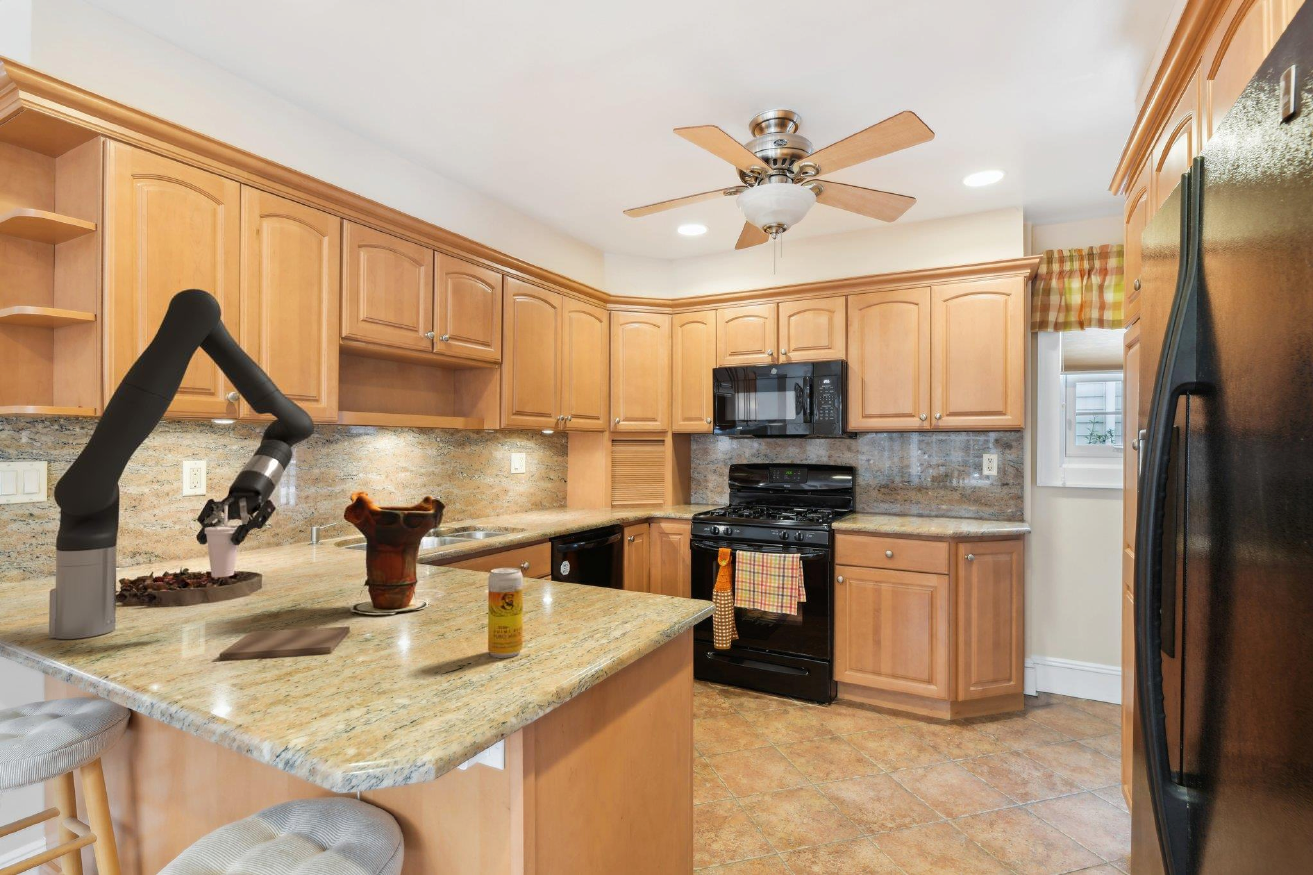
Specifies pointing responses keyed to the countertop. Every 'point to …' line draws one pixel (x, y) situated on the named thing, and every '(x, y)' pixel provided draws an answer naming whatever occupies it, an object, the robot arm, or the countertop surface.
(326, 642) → the walnut board
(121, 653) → the countertop surface
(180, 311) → the robot arm
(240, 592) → the food dish
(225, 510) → the smoothie
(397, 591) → the decorative vase
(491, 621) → the beer can
